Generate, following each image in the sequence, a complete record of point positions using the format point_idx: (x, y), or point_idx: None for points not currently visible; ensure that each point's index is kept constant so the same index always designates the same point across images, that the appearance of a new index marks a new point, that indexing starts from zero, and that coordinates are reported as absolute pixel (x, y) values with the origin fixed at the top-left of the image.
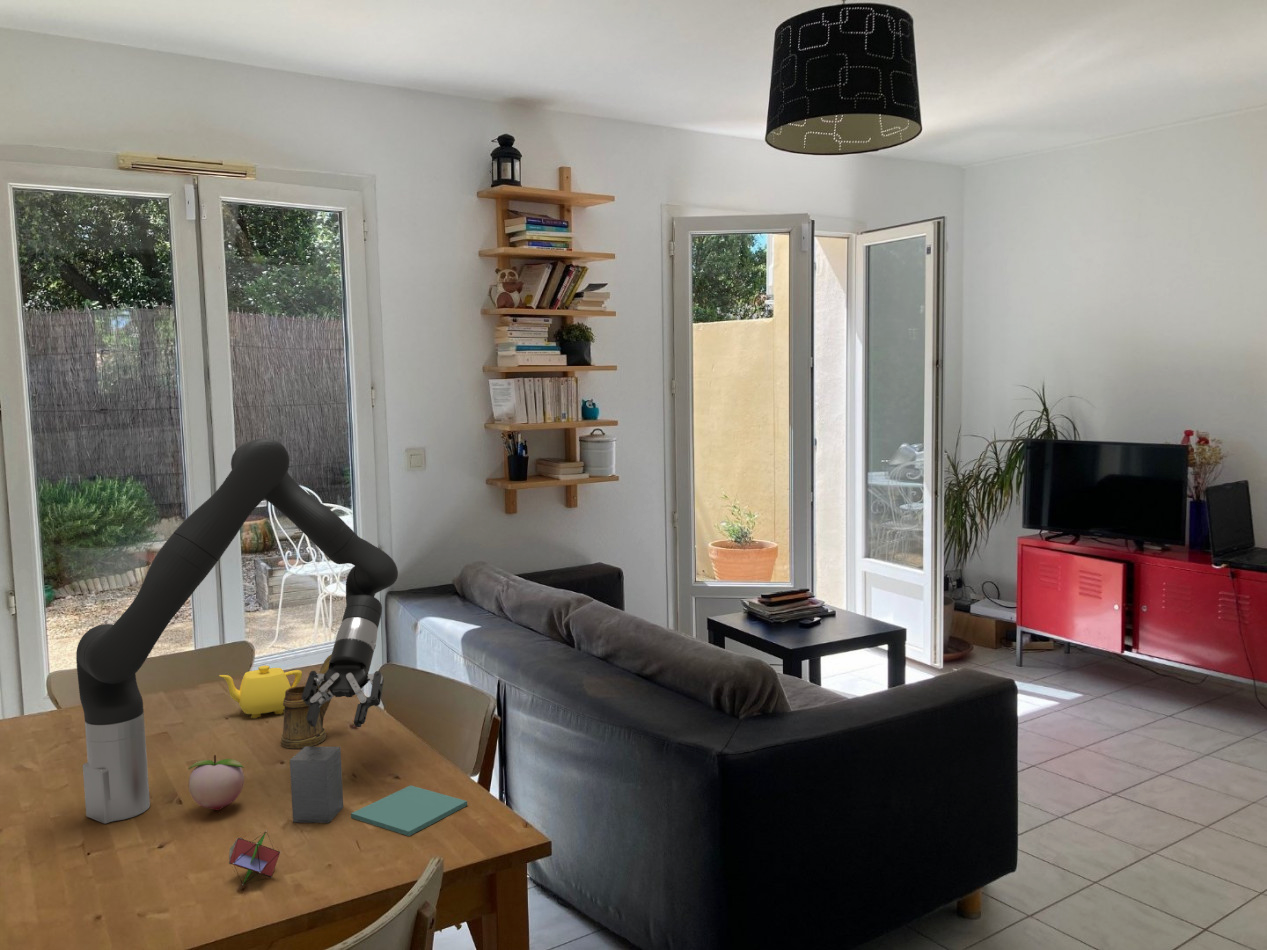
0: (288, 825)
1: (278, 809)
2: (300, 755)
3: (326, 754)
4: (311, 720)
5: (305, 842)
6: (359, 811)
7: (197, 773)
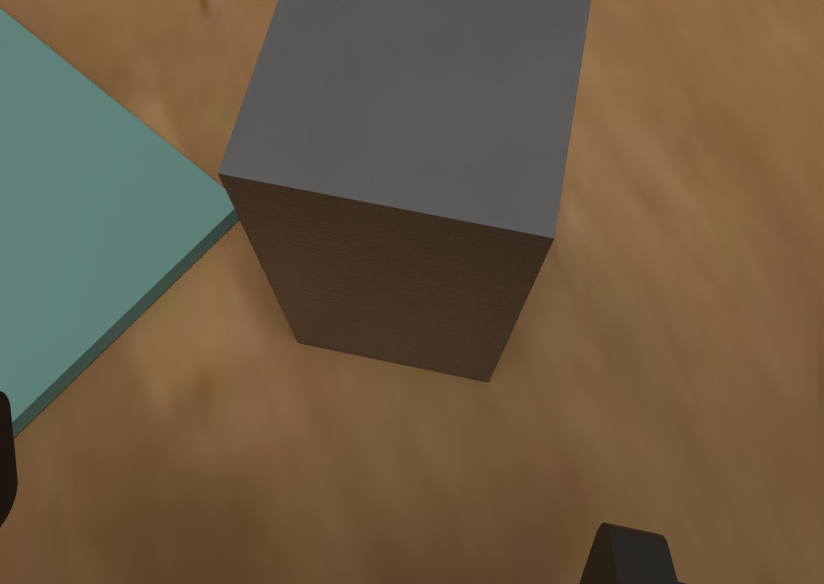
0: None
1: (644, 376)
2: (534, 41)
3: (319, 27)
4: (616, 530)
5: None
6: (200, 216)
7: None
